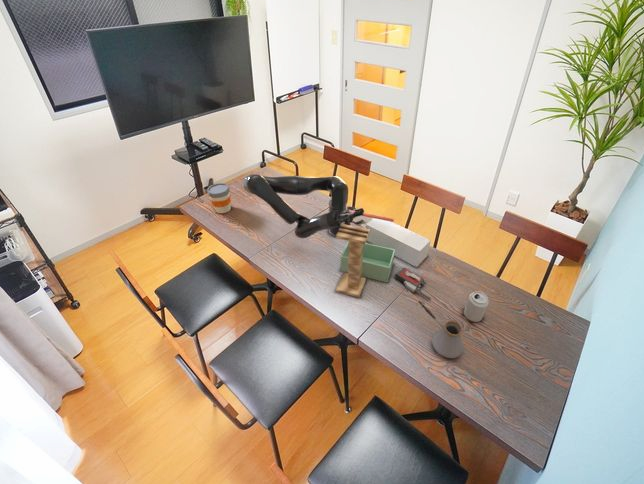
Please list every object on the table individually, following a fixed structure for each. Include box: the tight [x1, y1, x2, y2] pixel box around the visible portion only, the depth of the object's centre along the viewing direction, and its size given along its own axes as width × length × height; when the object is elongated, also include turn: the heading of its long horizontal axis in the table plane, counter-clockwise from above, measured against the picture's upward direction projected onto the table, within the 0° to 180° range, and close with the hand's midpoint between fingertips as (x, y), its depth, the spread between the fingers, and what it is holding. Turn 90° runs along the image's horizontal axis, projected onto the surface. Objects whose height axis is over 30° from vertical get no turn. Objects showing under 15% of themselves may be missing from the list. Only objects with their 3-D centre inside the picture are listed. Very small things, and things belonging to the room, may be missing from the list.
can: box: [463, 290, 490, 323], centre depth 135 cm, size 8×8×12 cm
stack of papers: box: [365, 214, 431, 268], centre depth 170 cm, size 32×11×11 cm, turn 49°
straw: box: [349, 210, 395, 223], centre depth 143 cm, size 20×1×1 cm, turn 71°
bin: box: [340, 240, 395, 283], centre depth 159 cm, size 23×13×10 cm, turn 71°
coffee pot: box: [416, 300, 464, 359], centre depth 125 cm, size 21×12×15 cm, turn 45°
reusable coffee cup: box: [206, 182, 232, 214], centre depth 198 cm, size 13×13×15 cm
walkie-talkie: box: [394, 267, 432, 301], centre depth 151 cm, size 9×4×20 cm
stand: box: [335, 224, 370, 298], centre depth 142 cm, size 12×11×33 cm
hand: (362, 211), depth 143 cm, fingers closed on straw, 1 cm apart
